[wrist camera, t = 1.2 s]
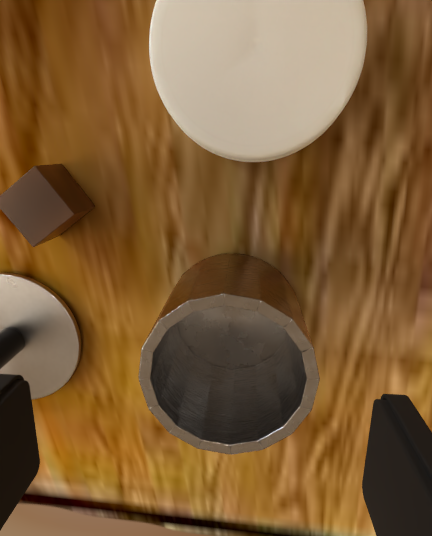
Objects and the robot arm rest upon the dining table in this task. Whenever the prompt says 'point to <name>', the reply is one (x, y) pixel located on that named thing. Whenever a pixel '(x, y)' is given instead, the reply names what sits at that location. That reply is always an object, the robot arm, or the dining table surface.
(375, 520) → the robot arm
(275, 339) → the steel jar
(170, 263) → the dining table surface
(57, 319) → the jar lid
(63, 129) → the dining table surface
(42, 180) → the walnut block
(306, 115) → the supplement tub
